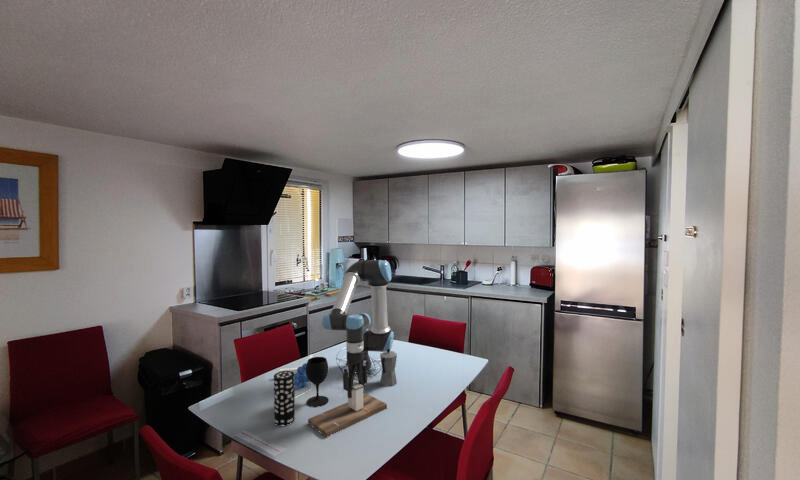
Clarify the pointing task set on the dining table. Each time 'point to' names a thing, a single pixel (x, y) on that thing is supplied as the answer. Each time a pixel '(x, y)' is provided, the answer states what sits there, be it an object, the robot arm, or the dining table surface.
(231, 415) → the dining table surface
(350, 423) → the brown flat wooden board
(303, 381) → the grapes
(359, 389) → the fader
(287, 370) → the napkin holder
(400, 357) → the dining table surface
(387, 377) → the coffeepot
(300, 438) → the dining table surface
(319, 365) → the wine glass
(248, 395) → the dining table surface
